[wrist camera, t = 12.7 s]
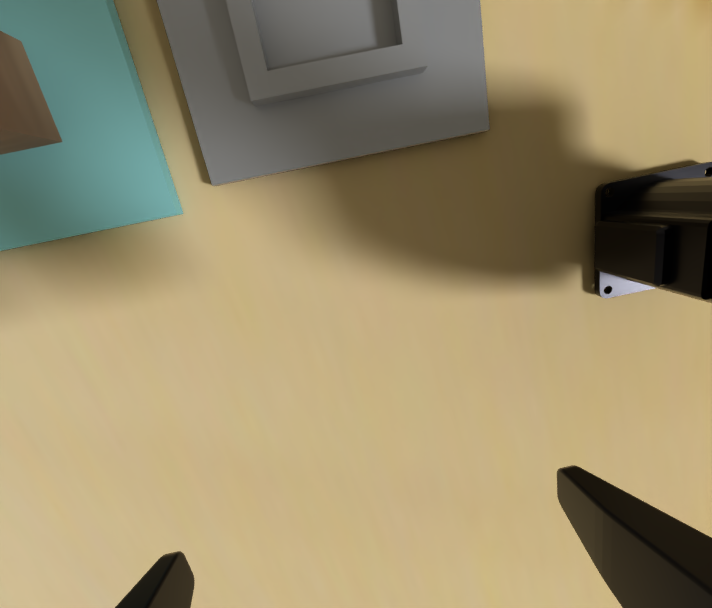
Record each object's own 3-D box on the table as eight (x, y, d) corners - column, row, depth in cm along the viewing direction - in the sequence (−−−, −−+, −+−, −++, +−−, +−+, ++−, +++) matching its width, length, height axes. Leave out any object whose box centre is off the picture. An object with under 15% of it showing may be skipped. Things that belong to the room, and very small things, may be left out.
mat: (87, -78, 15) (74, -94, 14) (183, 213, 18) (177, 214, 18) (-203, -24, 15) (-231, -36, 14) (-49, 260, 18) (-66, 263, 17)
